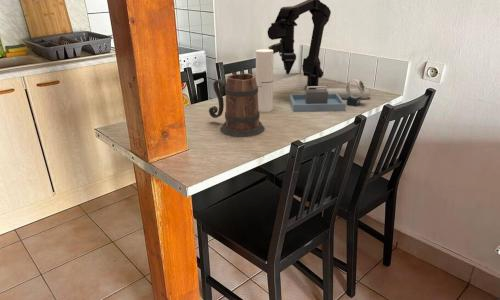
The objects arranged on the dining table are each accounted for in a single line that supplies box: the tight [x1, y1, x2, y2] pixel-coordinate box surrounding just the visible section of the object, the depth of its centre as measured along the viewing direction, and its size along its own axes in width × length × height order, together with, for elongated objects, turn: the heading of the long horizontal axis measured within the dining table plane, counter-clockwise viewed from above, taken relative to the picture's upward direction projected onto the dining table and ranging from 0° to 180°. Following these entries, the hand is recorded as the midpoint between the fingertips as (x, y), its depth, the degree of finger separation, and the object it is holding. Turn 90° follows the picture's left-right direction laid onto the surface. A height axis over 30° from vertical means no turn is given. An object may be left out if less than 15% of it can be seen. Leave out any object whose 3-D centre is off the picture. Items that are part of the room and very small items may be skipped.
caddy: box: [304, 85, 328, 104], centre depth 163 cm, size 5×9×8 cm, turn 90°
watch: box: [345, 78, 366, 107], centre depth 163 cm, size 6×8×11 cm
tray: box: [288, 93, 347, 113], centre depth 164 cm, size 16×22×3 cm
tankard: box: [208, 73, 266, 138], centre depth 138 cm, size 24×17×20 cm
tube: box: [316, 87, 371, 100], centre depth 173 cm, size 5×5×25 cm
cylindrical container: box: [255, 48, 274, 113], centre depth 156 cm, size 7×7×25 cm
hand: (286, 72), depth 172 cm, fingers open, 9 cm apart
